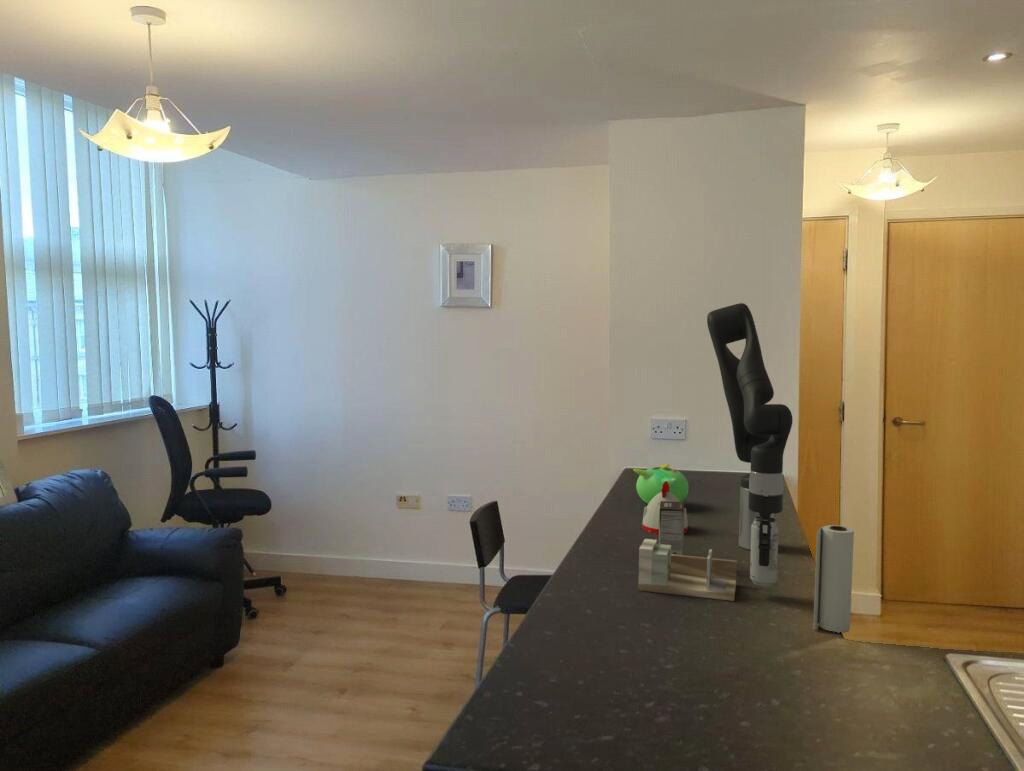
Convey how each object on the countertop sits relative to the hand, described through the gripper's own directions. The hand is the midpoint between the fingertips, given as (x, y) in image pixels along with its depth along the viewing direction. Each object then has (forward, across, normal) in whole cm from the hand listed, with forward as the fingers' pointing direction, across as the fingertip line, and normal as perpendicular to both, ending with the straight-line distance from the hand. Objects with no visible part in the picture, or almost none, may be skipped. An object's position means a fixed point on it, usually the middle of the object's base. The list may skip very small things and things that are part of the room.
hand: (763, 561), depth 181 cm
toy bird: (+9, -84, -34) cm, 91 cm away
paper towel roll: (+8, +15, +14) cm, 22 cm away
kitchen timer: (+9, -54, -29) cm, 62 cm away
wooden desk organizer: (+8, -1, -17) cm, 19 cm away
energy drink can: (+5, 0, 0) cm, 5 cm away
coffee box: (+9, -18, -23) cm, 31 cm away
